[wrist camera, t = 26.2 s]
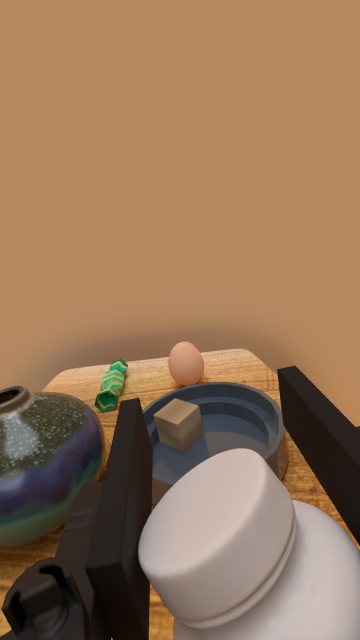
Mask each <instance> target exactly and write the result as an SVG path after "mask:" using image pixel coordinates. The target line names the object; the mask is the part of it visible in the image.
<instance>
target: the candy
mask: <svg viewBox="0 0 360 640" xmlns="http://www.w3.org/2000/svg"><path fill="white" fill-rule="evenodd" d="M127 367H128V365H127V364H126V363H125V362H124V361H123V360H121V359H120V360H117V361H113V362H112V363H111V366H110V370H108V371H106V373H105V375H104V377H103V379H102V383H101V390H100V391H101V392H100V393H99V394H98V395H97V398H96V401H95V406H96V407H97V408H98V409H100V410H101V411H102V412H106V411H110V410H113V409H115V406H116V403H117V399H118V398H117V397H118V396H120V395H121V391H122V388H123V384H124V378H125V376H124V375H125V374H126V371H127Z"/></svg>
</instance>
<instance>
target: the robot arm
mask: <svg viewBox="0 0 360 640" xmlns="http://www.w3.org/2000/svg"><path fill="white" fill-rule="evenodd" d="M277 372H278V381H279V391H280V400H281V409H282V419H283V425H284V427H285V428H286V430H287V431H288V433H289V435H290V436H291V438H292V439H293V441H294V443H295V444H296V446H297V447H298V449H299V450H300V452H301V454H302V455H303V457H304V458H305V460H306V462H307V463H308V465H309V466H310V468H311V469H312V471H313V473H314V474H315V476H316V477H317V479H318V481H319V482H320V484H321V485H322V487H323V488H324V490H325V492H326V493H327V495H328V496H329V498H330V500H331V501H332V503H333V504H334V506H335V508H336V509H337V511H338V512H339V514H340V515H341V517H342V519H343V520H344V522H345V523H346V525H347V527H348V528H349V530H350V531H351V533H352V534H353V536H354V538H355V539H356V541H357V542H358V544H359V546H360V426H358V427H355V426H354V425H353V424H352V423H351V422H350V421H349V420H348V419H347V418H346V417H345V416H344V415H343V414H342V413H341V412H340V411H339V410H338V409H337V408H336V407H335V406H334V405H333V404H332V403H331V402H330V401H329V400H328V399H327V398H326V397H325V396H324V395H323V393H321V391H320V390H318V389H317V388H316V387H315V385H314V384H313V383H312V382H311V381H310V380H309V379H308V378H307V377H306V376H305V375H304V374H303V373H302V372H301V371H300V370H299V369H298V368H297V367H296V366H291V367H286V368H281V369H277ZM152 474H153V449H152V446H151V442H150V438H149V434H148V430H147V427H146V423H145V419H144V415H143V411H142V407H141V404H140V400H139V398H135V399H130V400H125V401H121V403H120V408H119V413H118V417H117V422H116V426H115V431H114V436H113V440H112V445H111V450H110V454H109V459H108V464H107V468H106V473H105V478H104V480H103V481H98V482H93V483H88V484H83V486H82V487H81V489H80V490H79V491H78V493H77V494H76V496H75V497H74V498H73V500H72V503H71V507H70V510H69V513H68V518H67V519H66V523H65V526H64V532H62V535H61V538H60V542H59V545H58V548H57V551H56V554H55V558H52V557H51V558H48V559H44V560H41V561H39V562H37V563H35V564H34V565H32V566H31V567H29V568H28V569H26V570H25V571H24V572H23V573H22V574H21V575H20V576H19V577H18V578H17V579H16V580H15V582H14V584H13V585H12V587H11V588H10V590H9V591H8V593H7V594H6V597H5V600H4V603H3V606H2V609H1V610H2V611H3V613H4V615H5V617H6V619H7V621H8V623H9V624H10V626H11V628H12V630H11V631H9V632H8V633H6V634H4V635H3V636H1V637H0V640H111V637H112V639H113V640H149V602H150V581H149V579H148V578H147V576H146V575H145V573H144V571H143V569H142V568H141V565H140V562H139V558H138V546H139V540H140V536H141V533H142V530H143V528H144V526H145V524H146V522H147V520H148V518H149V516H150V514H151V513H152Z"/></svg>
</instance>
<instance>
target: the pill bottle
mask: <svg viewBox="0 0 360 640" xmlns="http://www.w3.org/2000/svg"><path fill="white" fill-rule="evenodd" d="M138 558H139V562H140V565H141V568H142V569H143V571H144V573H145V575H146V576H147V578H148V579H149V581H150V583H151V584H152V586H153V587H154V589H155V590H156V592H157V593H158V595H159V596H160V598H161V600H162V601H163V603H164V605H165V606H166V607H167V609H168V610H169V611H170V612H171V613H172V615H173V616H174V617H175V619H174V628H173V640H360V551H359V549H358V548H357V546H356V545H355V544H354V542H353V541H352V539H351V538H350V537H349V535H348V534H347V533H346V532H345V530H344V529H343V528H342V527H341V526H340V525H339V524H338V523H337V522H336V521H335V520H334V519H333V518H331V517H330V516H329V515H327V514H326V513H325V512H323V511H321V510H320V509H318V508H316V507H314V506H312V505H310V504H307V503H304V502H300V501H296V500H292V499H291V496H290V494H289V491H288V490H287V488H286V487H285V486H284V484H283V483H282V482H281V481H280V480H279V479H278V477H277V476H276V475H275V474H274V472H273V471H272V470H271V468H270V467H269V466H268V464H267V463H266V462H265V460H264V459H263V458H262V457H261V456H260V455H259V454H258V453H257V452H255V451H253V450H250V449H243V448H239V449H232V450H228V451H225V452H221V453H219V454H217V455H215V456H213V457H211V458H209V459H207V460H205V461H204V462H202V463H200V464H199V465H197V466H196V467H195V468H193V469H192V470H190V471H189V472H188V473H187V474H185V475H184V476H183V477H182V478H181V479H179V480H178V481H177V482H176V483H175V484H174V485H173V486H172V487H171V488H170V489H169V490H168V491H167V493H166V494H165V495H164V496H163V498H162V499H161V500H160V501H159V503H158V504H157V505H156V507H155V508H154V510H153V511H152V513H151V514H150V516H149V518H148V520H147V522H146V524H145V526H144V528H143V530H142V533H141V536H140V540H139V546H138Z"/></svg>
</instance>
